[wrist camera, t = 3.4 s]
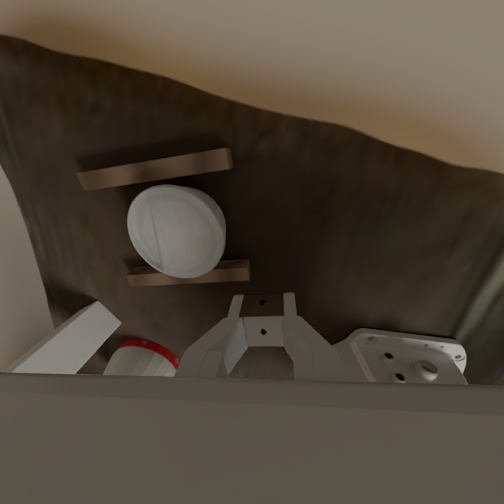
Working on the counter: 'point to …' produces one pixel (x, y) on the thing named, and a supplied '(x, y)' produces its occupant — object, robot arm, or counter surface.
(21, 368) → the milk
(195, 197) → the ramekin
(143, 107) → the counter surface
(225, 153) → the parallel wooden rails
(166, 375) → the kitchen timer
